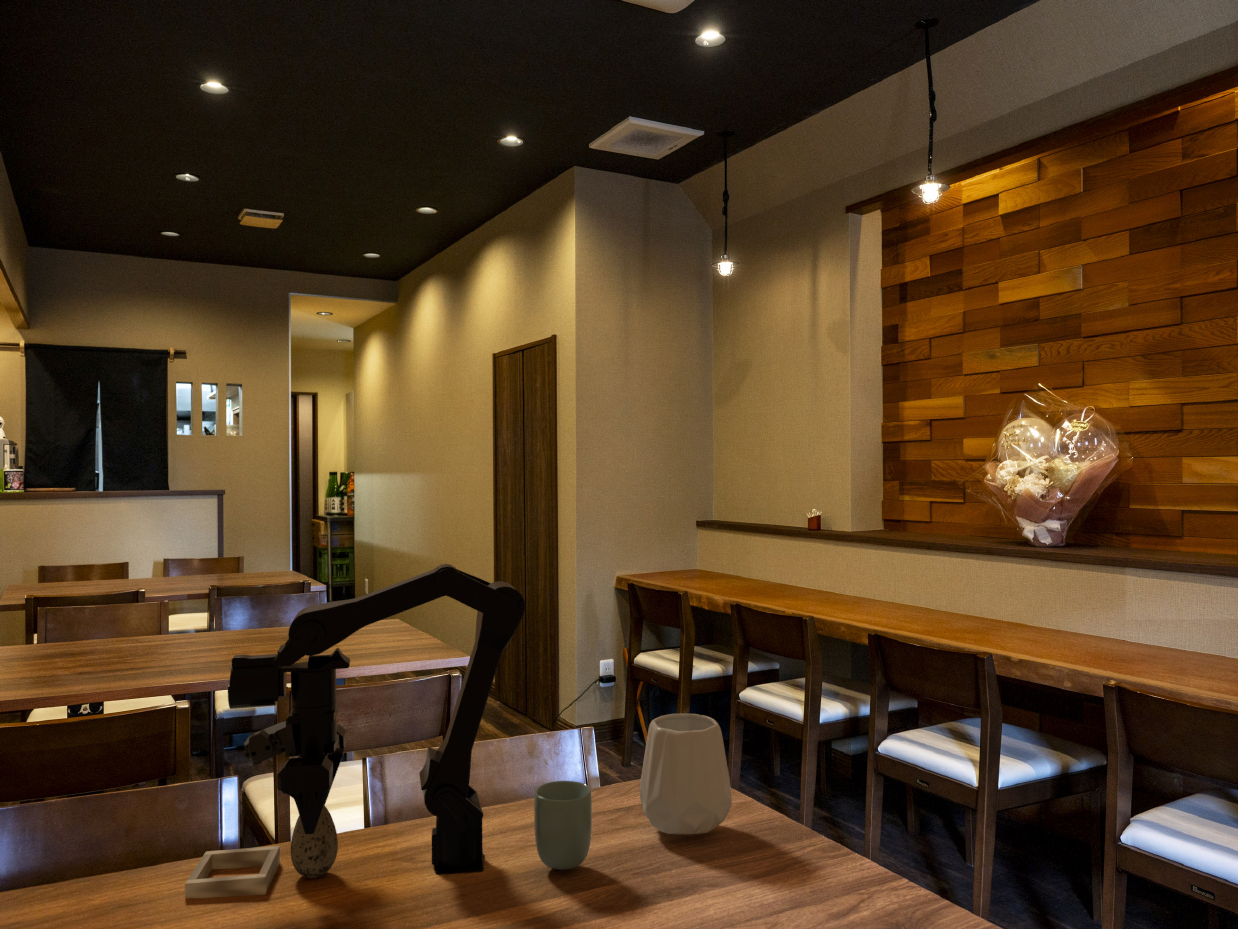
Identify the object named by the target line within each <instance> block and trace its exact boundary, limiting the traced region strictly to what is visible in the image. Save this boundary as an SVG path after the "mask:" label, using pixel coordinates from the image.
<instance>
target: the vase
mask: <svg viewBox="0 0 1238 929" xmlns="http://www.w3.org/2000/svg"><path fill="white" fill-rule="evenodd" d="M721 729H722V728H721V727H720V724H719V723H718V721H717V720H715V719H714V718H712V717H710V716H708V715H704V714H701V715H700V714H698V713H687V712H686V713H682V712H681V713H670V714H665V715H660V716H658V717H656V718H654V719H652V720H651V722H650V723H649V725H648V731H647V737H646V742H645V750H644V757H643V762H642V770H641V777H640V781H639V800H640V803H641V804H642V805H641V806H642V808H643V814H644V816H645V817H646V818H647V819H648V820H649V822H650V824H651V826H652V827H653V828H654V829H656V830H658V831H660V832H662V833H664V834H668V835H699V834H707V833H709V832H711V831H713V829H716V827H718V826H720V825H721V824H722V823H723V822H725V820H726V819H727V817H728V815H729V812H730V811H731V808H732V806H733V800H732V790H731V778H730V774H729V773H730V772H729V768H728V762H727V756H726V750H725V745H724V739H723V738H724V737H723V734H722V733H723V732H722V730H721Z"/></svg>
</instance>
